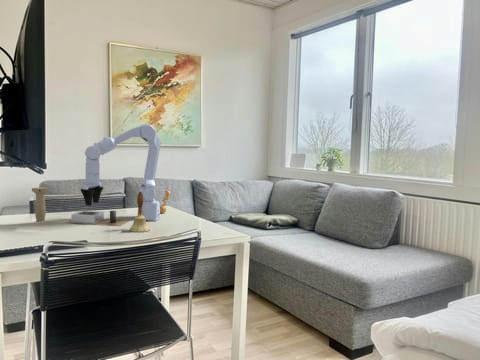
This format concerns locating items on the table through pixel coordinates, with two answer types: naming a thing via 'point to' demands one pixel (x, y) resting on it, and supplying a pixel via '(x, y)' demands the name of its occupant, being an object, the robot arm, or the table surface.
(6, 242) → the table surface
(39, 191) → the handle
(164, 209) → the figurine
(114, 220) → the brown board
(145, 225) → the hand bell
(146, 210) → the robot arm
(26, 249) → the table surface
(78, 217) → the grey square frame
